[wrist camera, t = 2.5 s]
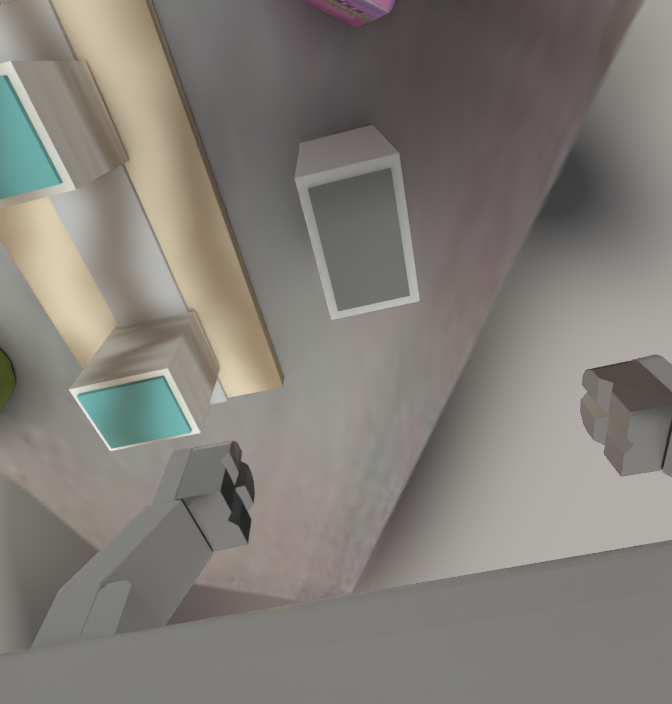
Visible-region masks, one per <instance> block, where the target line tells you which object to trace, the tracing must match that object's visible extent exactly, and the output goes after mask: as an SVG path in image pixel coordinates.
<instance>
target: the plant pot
mask: <svg viewBox="0 0 672 704" xmlns="http://www.w3.org/2000/svg"><path fill="white" fill-rule="evenodd" d="M15 381H16V379H15V377H14V374H13V371H12V368H11V364H10V361H9V359H8V358H7V356H6V355H5V354H4V353H3V352H2V351H1V350H0V413H1V411H2V409H3V407H4V406H5V404H6V402H7V400H8V399H9V397H10V395H11V393H12V391H13V389H14V387H15Z"/></svg>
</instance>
